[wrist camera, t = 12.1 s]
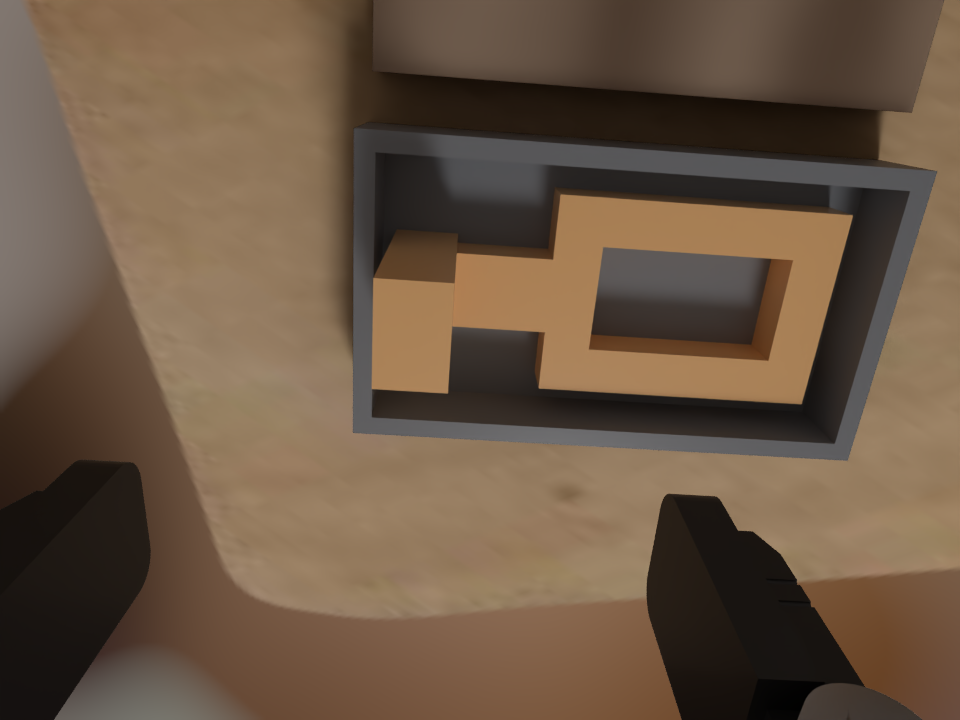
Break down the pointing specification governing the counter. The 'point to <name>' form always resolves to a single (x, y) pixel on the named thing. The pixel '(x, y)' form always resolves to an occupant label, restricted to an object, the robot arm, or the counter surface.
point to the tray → (628, 286)
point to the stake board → (671, 46)
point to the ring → (573, 288)
